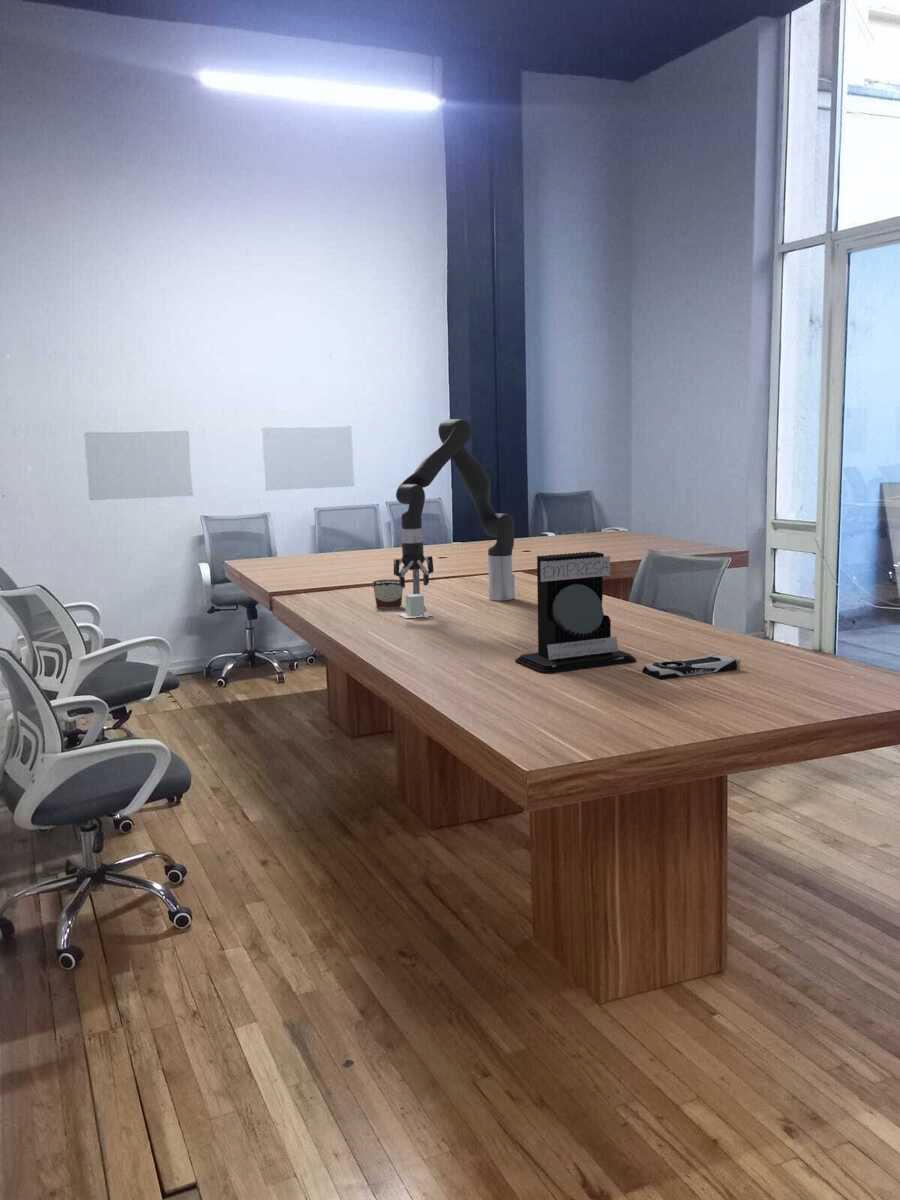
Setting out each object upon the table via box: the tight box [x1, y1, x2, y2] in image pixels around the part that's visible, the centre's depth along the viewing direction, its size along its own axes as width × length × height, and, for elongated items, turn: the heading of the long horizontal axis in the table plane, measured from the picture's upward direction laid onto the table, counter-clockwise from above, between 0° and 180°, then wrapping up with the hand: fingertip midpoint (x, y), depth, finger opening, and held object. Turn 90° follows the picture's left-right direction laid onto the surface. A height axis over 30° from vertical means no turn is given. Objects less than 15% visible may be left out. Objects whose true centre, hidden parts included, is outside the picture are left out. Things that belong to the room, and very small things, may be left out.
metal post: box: [412, 569, 426, 610], centre depth 373 cm, size 6×6×20 cm
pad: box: [397, 611, 434, 619], centre depth 362 cm, size 10×10×1 cm
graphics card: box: [641, 653, 741, 681], centre depth 270 cm, size 10×3×25 cm
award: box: [514, 551, 637, 674], centre depth 282 cm, size 30×19×30 cm, turn 114°
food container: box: [371, 578, 404, 608], centre depth 383 cm, size 12×6×10 cm, turn 84°
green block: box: [405, 593, 425, 616], centre depth 362 cm, size 5×5×7 cm
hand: (414, 586), depth 361 cm, fingers open, 8 cm apart
